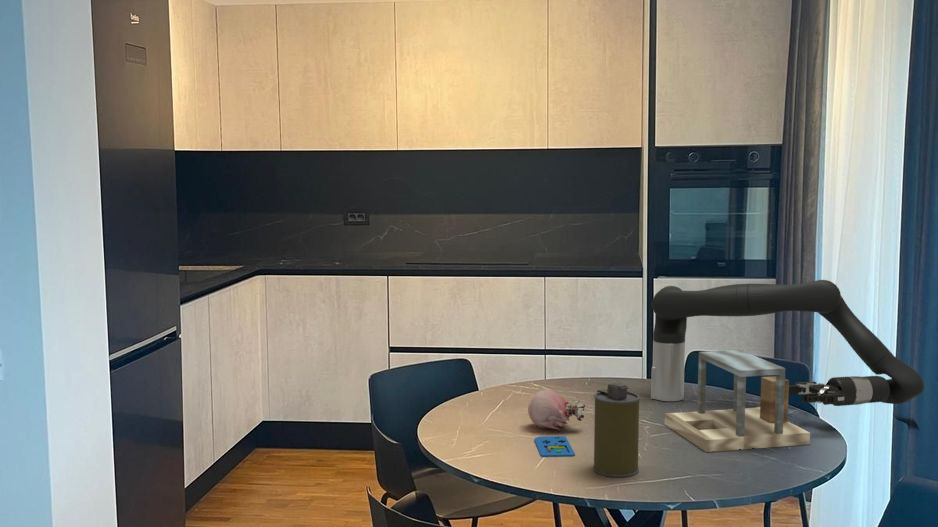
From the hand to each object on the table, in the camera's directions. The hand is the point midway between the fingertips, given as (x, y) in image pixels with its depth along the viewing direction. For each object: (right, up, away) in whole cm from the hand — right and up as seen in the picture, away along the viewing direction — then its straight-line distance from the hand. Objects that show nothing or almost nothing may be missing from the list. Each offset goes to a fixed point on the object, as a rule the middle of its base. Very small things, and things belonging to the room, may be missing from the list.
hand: (793, 394), depth 240 cm
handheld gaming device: (-64, -12, -12) cm, 66 cm away
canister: (-51, -13, -29) cm, 60 cm away
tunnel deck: (-15, -10, -2) cm, 18 cm away
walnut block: (-5, -7, 0) cm, 9 cm away
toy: (-62, -10, +4) cm, 63 cm away
